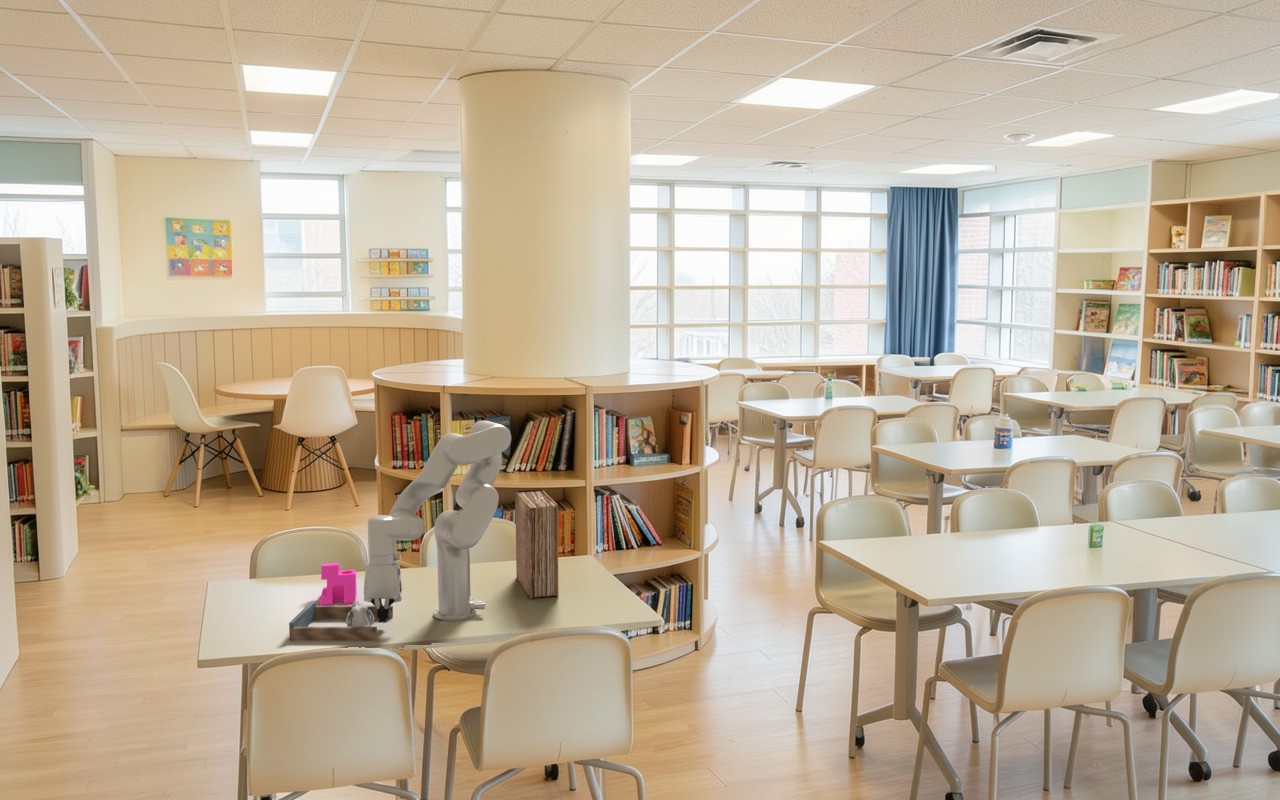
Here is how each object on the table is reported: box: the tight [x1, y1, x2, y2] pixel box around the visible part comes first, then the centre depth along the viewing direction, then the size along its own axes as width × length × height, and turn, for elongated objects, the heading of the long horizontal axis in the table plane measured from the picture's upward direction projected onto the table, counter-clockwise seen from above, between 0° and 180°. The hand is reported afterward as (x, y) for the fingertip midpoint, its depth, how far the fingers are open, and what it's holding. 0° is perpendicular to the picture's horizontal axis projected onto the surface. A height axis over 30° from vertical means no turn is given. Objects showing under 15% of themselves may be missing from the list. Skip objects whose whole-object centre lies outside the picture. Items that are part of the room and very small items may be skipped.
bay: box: [288, 600, 394, 641], centre depth 280 cm, size 24×19×5 cm
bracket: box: [319, 562, 358, 606], centre depth 306 cm, size 12×10×10 cm
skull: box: [345, 600, 375, 627], centre depth 280 cm, size 8×9×12 cm
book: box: [514, 489, 559, 601], centre depth 317 cm, size 25×9×30 cm, turn 17°
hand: (383, 620), depth 280 cm, fingers closed
